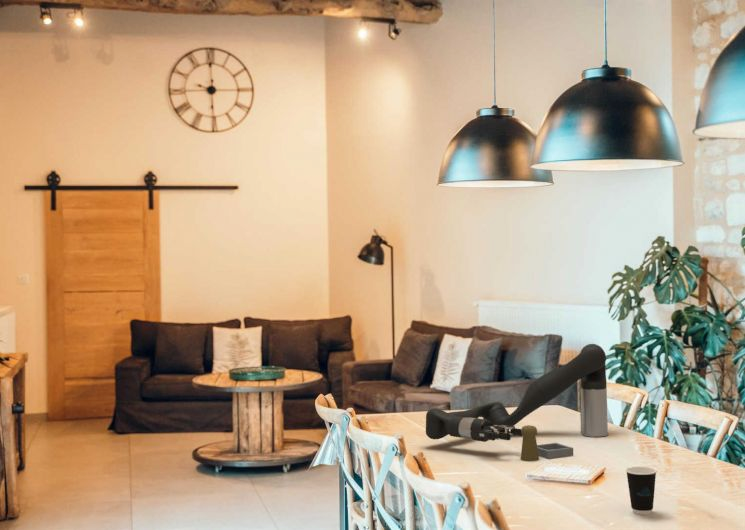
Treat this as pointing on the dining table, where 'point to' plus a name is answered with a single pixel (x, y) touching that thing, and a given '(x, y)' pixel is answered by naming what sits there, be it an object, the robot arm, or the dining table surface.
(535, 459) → the olive game piece
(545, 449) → the tray
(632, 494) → the dixie cup
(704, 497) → the dining table surface
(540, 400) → the robot arm
